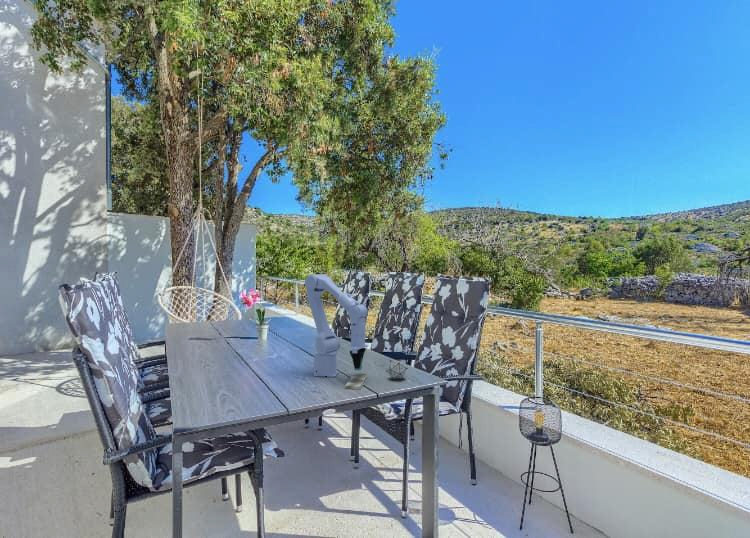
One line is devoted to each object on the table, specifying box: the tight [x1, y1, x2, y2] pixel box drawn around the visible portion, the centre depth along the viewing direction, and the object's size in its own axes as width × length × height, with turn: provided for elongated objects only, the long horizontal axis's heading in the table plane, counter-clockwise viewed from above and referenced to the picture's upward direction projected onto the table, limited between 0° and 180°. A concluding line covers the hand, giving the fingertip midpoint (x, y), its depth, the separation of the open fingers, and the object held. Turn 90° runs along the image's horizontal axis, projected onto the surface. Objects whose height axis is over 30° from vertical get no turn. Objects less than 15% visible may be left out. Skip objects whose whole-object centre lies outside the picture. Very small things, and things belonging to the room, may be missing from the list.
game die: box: [385, 358, 409, 381], centre depth 166 cm, size 9×8×10 cm
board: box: [344, 372, 369, 390], centre depth 162 cm, size 6×18×1 cm, turn 172°
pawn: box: [354, 358, 363, 371], centre depth 164 cm, size 3×3×7 cm
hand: (357, 367), depth 164 cm, fingers closed on pawn, 3 cm apart
